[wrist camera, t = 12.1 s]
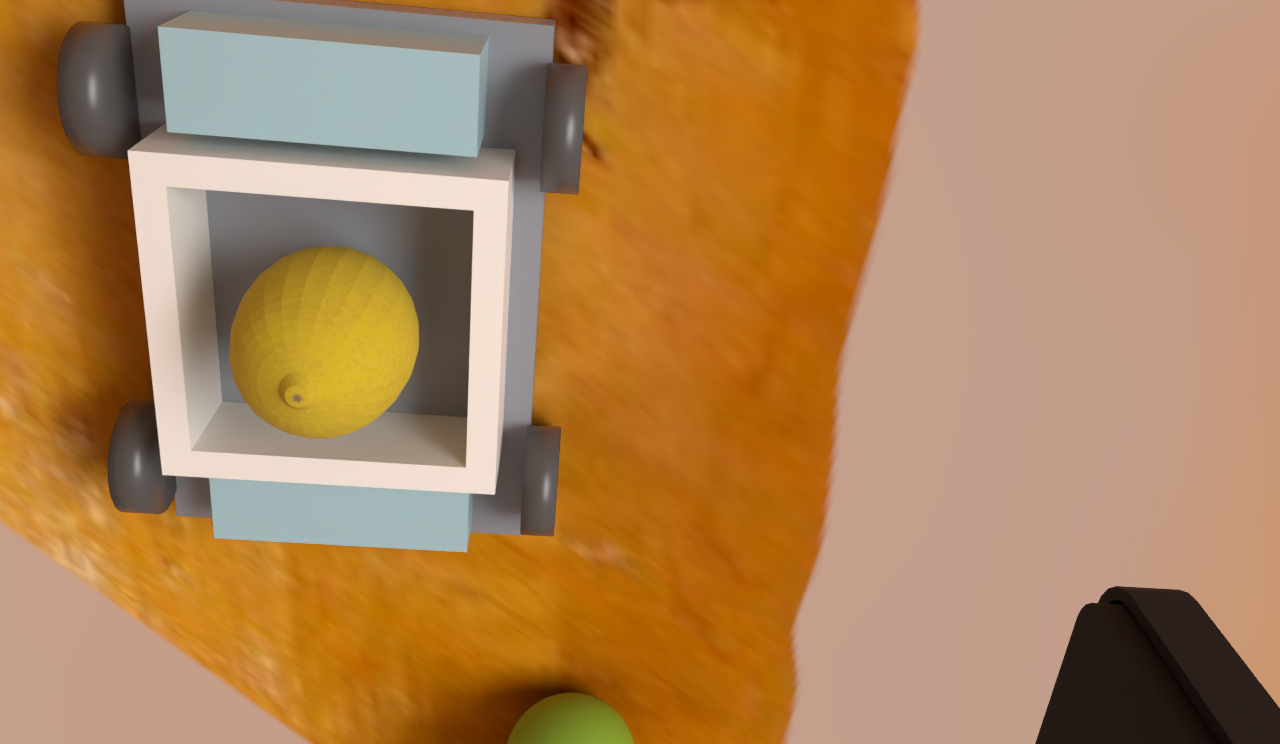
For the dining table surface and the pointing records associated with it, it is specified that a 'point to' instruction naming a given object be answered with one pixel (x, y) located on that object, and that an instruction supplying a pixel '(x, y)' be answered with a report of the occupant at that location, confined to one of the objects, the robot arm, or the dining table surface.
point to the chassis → (345, 217)
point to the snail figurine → (570, 722)
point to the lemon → (324, 342)
